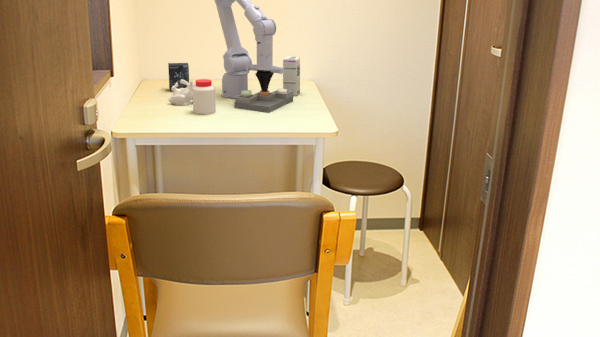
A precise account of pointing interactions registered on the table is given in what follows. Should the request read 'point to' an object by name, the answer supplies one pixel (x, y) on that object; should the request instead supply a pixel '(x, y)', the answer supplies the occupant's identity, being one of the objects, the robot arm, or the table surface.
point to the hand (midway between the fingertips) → (264, 91)
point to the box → (178, 74)
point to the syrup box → (291, 74)
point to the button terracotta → (264, 93)
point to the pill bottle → (204, 97)
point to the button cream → (281, 90)
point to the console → (264, 101)
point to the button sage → (246, 93)
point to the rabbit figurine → (182, 93)
